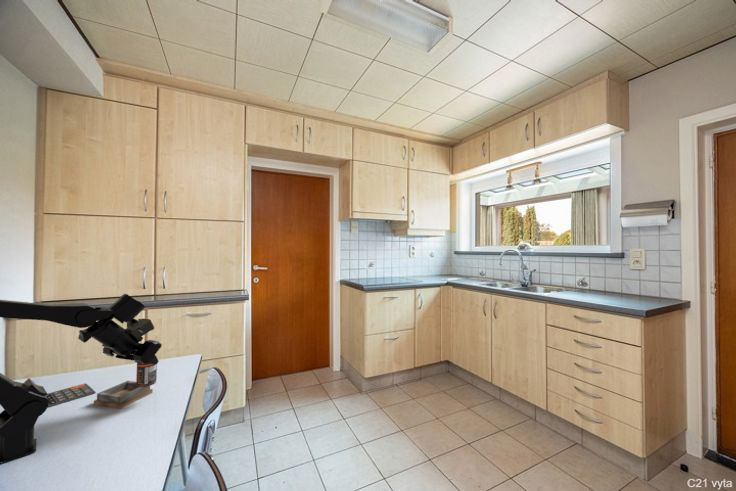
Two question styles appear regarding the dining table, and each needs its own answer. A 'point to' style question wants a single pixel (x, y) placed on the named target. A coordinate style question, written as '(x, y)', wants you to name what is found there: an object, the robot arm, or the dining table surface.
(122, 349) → the robot arm
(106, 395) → the collar stand
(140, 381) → the supplement bottle
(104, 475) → the dining table surface
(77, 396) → the calculator
